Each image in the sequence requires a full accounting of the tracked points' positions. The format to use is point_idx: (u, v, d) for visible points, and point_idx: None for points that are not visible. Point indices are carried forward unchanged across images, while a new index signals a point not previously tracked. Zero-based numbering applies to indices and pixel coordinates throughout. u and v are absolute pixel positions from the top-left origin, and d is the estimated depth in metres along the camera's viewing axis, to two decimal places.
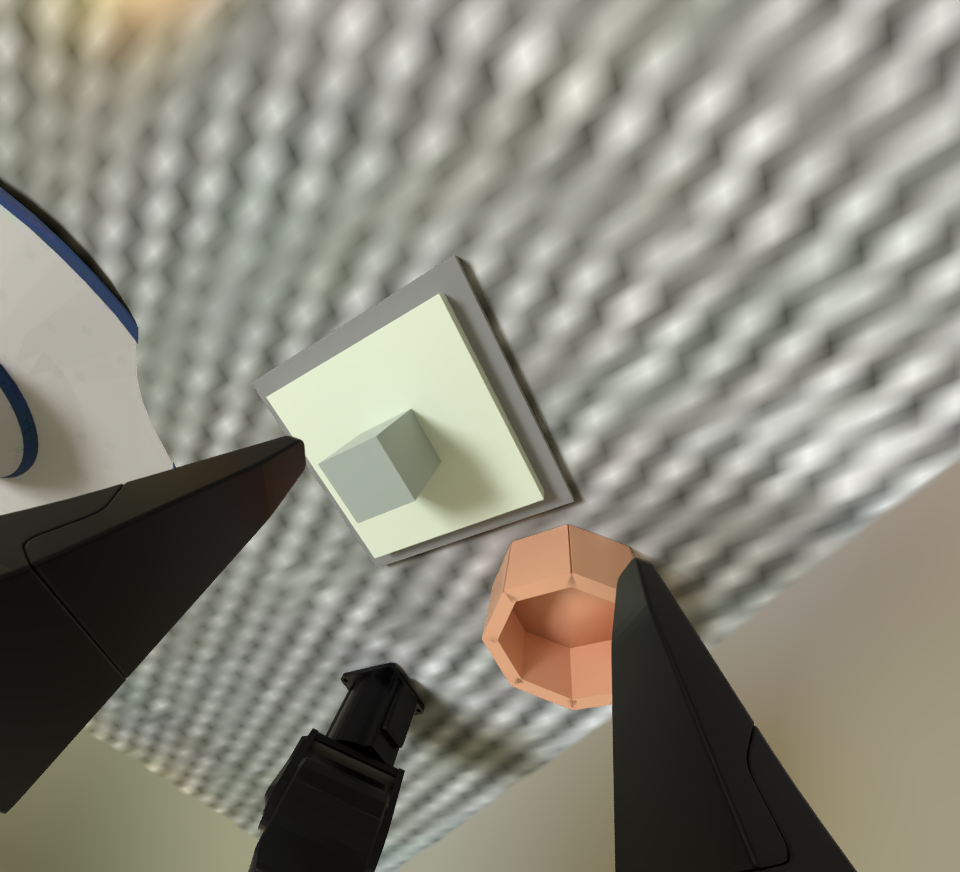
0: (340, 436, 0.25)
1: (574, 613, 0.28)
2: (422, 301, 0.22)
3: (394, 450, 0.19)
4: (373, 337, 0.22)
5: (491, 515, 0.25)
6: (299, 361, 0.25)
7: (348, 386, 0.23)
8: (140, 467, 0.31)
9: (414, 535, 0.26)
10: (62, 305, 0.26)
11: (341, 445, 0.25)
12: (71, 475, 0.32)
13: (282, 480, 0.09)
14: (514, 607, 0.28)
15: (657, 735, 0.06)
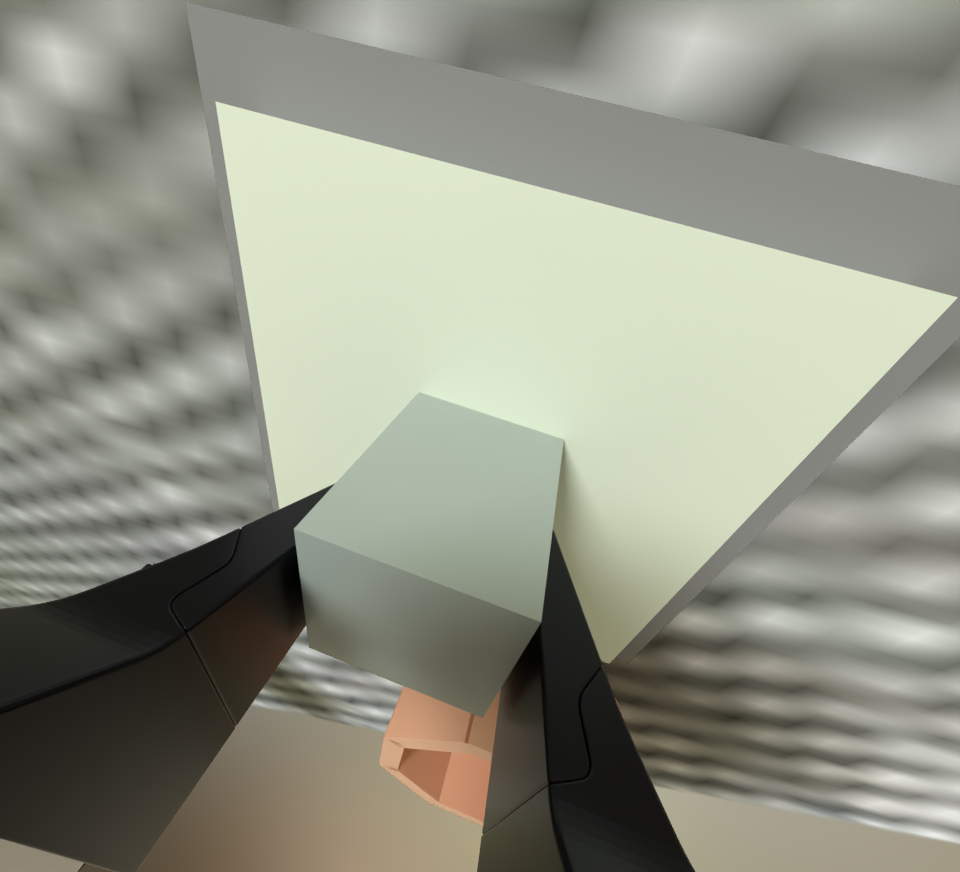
0: (363, 359, 0.10)
1: None
2: (841, 249, 0.07)
3: None
4: (663, 235, 0.07)
5: None
6: (380, 81, 0.07)
7: (475, 286, 0.08)
8: None
9: None
10: None
11: (352, 375, 0.10)
12: None
13: None
14: None
15: (521, 682, 0.06)
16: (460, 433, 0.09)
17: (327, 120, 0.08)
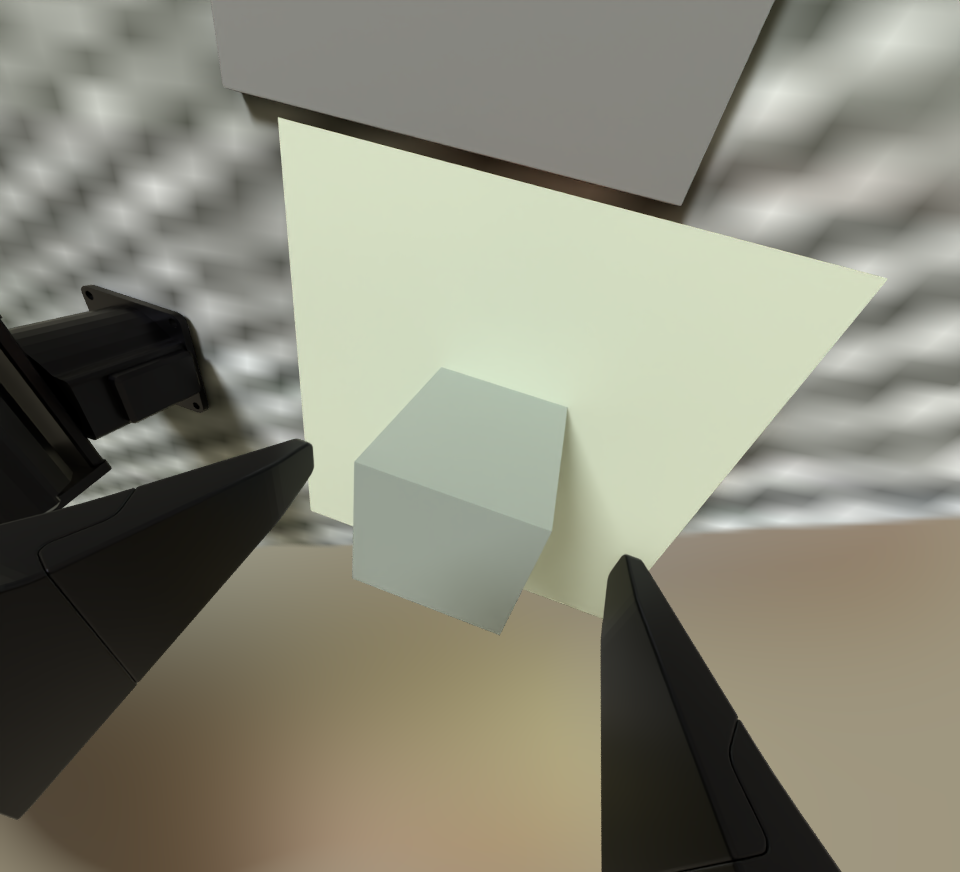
0: (393, 338, 0.11)
1: None
2: None
3: None
4: (650, 229, 0.08)
5: (524, 587, 0.16)
6: None
7: (493, 272, 0.09)
8: None
9: None
10: None
11: (382, 353, 0.11)
12: None
13: (291, 483, 0.09)
14: None
15: (643, 731, 0.06)
16: (479, 399, 0.10)
17: None
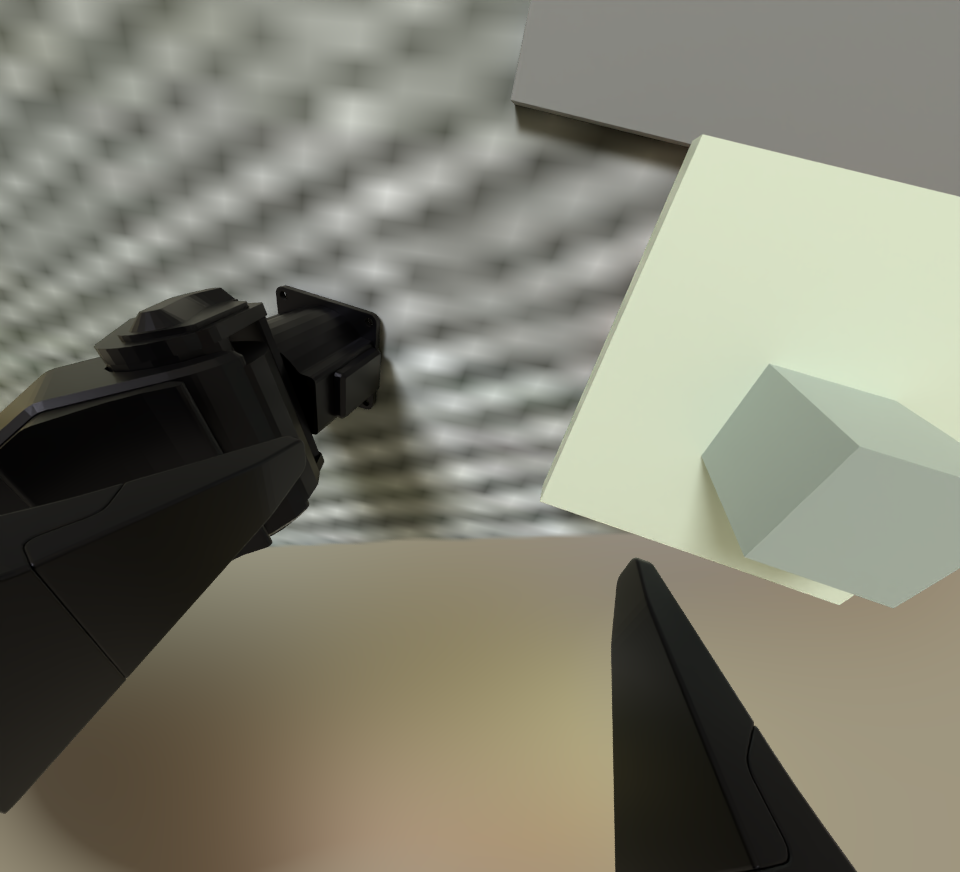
0: (727, 337, 0.12)
1: None
2: None
3: None
4: None
5: (756, 573, 0.17)
6: None
7: (875, 276, 0.10)
8: None
9: (631, 521, 0.17)
10: None
11: (707, 350, 0.12)
12: None
13: (282, 480, 0.09)
14: None
15: (657, 736, 0.06)
16: (837, 393, 0.11)
17: None
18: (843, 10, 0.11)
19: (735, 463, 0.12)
